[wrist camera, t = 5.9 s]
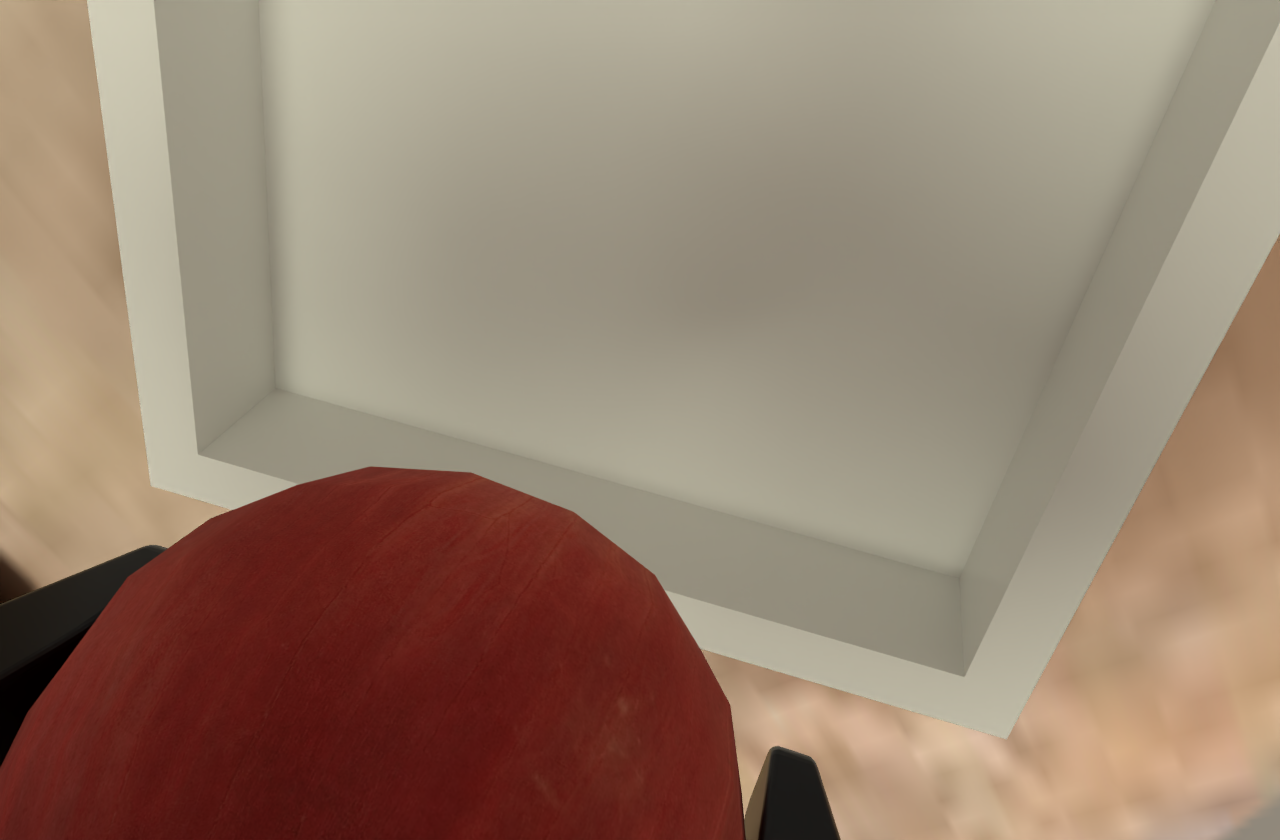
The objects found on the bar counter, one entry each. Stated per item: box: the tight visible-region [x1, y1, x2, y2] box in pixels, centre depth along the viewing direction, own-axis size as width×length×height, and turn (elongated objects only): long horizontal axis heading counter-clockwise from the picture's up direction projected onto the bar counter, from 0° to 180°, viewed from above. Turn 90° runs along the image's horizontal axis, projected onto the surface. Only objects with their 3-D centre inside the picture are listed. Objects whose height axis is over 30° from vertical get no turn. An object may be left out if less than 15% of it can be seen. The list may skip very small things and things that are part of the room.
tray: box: [87, 0, 1280, 739], centre depth 17 cm, size 18×18×4 cm
